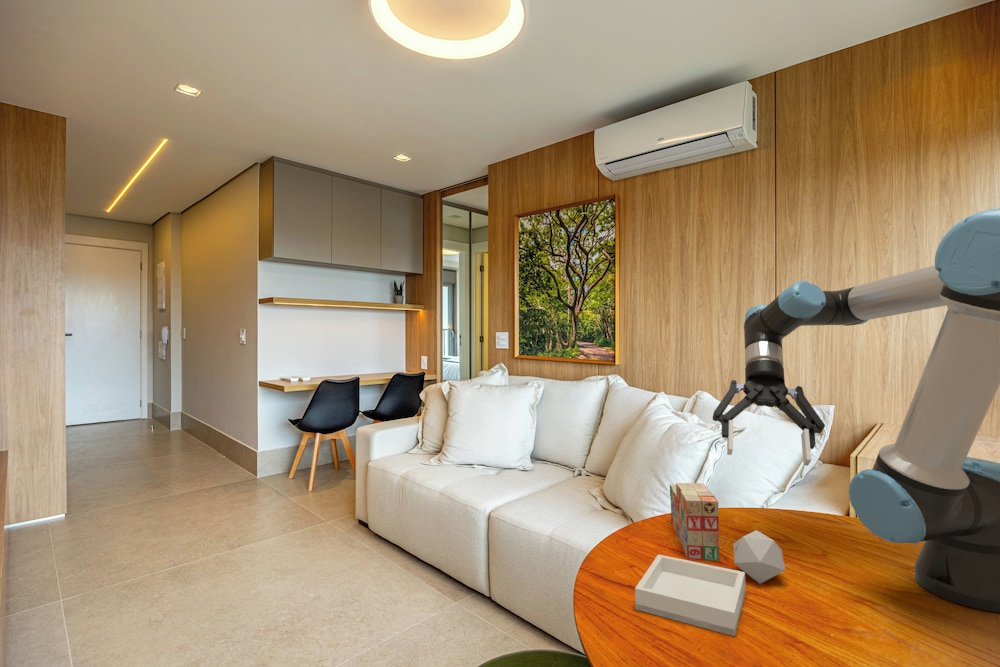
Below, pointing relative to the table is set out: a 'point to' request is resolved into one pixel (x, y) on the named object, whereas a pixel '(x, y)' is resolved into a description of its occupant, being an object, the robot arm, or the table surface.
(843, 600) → the table surface
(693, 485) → the stack of blocks
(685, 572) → the tray
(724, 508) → the table surface
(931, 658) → the table surface
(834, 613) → the table surface
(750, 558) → the die
